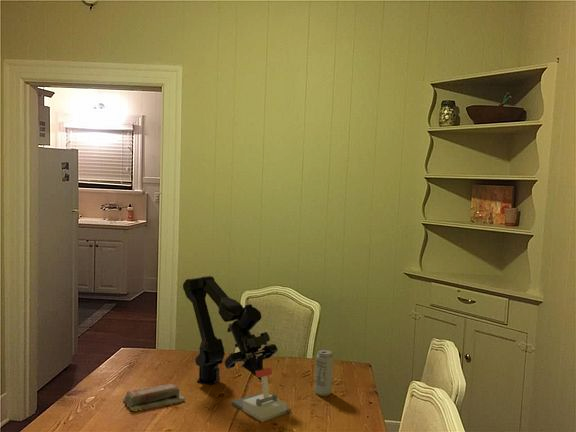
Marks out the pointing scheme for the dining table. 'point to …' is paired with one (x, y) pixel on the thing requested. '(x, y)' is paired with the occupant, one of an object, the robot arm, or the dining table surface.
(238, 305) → the robot arm
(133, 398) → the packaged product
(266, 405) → the switch panel
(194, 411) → the dining table surface
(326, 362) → the energy drink can
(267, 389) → the switch lever
